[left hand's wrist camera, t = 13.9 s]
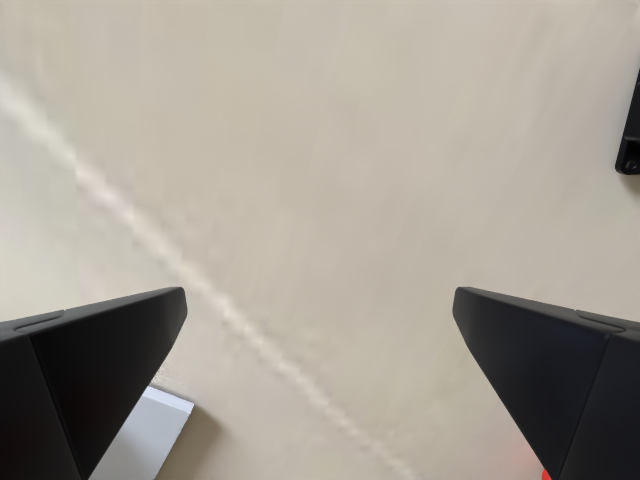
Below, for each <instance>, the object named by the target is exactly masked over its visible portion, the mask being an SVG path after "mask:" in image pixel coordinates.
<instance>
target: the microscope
mask: <svg viewBox="0 0 640 480" xmlns="http://www.w3.org/2000/svg"><path fill="white" fill-rule="evenodd" d="M193 406H194V404H193V403H191V402H188V401H186V400H183V399H181V398H178V397H176V396H173V395H170V394H168V393H165V392H163V391H160V390H158V389H155V388H152V387H150V386H148V387H147V388H146V390H145V391H144V393H143V394H142V396H141V398H140V399H139V401H138V402H137V404H136V405H135V407H134V409H133V410H132V412H131V413H130V415H129V416H128V418H127V420H126V421H125V423H124V424H123V426H122V427H121V429H120V431H119V432H118V434H117V435H116V437H115V438H114V440H113V442H112V443H111V445H110V446H109V448H108V449H107V451H106V453H105V454H104V456H103V457H102V459H101V460H100V462H99V464H98V465H97V467H96V468H95V470H94V471H93V473H92V475H91V476H90V478H89V479H88V480H154V479H155V477H156V475H157V473H158V472H159V470H160V468H161V466H162V464H163V462H164V461H165V459H166V457H167V455H168V453H169V451H170V450H171V448H172V446H173V444H174V442H175V440H176V439H177V437H178V435H179V433H180V431H181V430H182V428H183V426H184V424H185V422H186V420H187V419H188V417H189V415H190V413H191V411H192V408H193Z"/></svg>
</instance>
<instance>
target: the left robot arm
mask: <svg viewBox="0 0 640 480" xmlns="http://www.w3.org/2000/svg"><path fill="white" fill-rule="evenodd" d="M629 161H630V164H629V166H628V167H627V168H626V165H627V163H628V162H629ZM615 169H616V171H617V172H618V173H621V174H626V175H635V174H640V70H639V74H638V77H637V81H636V85H635V89H634V93H633V97H632V101H631V105H630V109H629V113H628V117H627V121H626V125H625V129H624V133H623V137H622V141H621V144H620V148H619V152H618V156H617V160H616V164H615ZM186 317H187V303H186V297H185V291H184V289H183V288H182V287H168V288H163V289H159V290H154V291H149V292H145V293H140V294H135V295H131V296H126V297H122V298H117V299H112V300H108V301H103V302H98V303H94V304H89V305H85V306H80V307H75V308H71V309H66V310H65V311H64V310H59V311H55V312H50V313H45V314H40V315H35V316H31V317H26V318H21V319H16V320H11V321H6V322H0V480H88V479H89V478H90V476H91V475H92V473H93V471H94V470H95V468H96V467H97V465H98V464H99V462H100V460H101V459H102V457H103V456H104V454H105V453H106V451H107V449H108V448H109V446H110V445H111V443H112V442H113V440H114V438H115V437H116V435H117V434H118V432H119V431H120V429H121V427H122V426H123V424H124V423H125V421H126V420H127V418H128V416H129V415H130V413H131V412H132V410H133V409H134V407H135V405H136V404H137V402H138V401H139V399H140V398H141V396H142V394H143V393H144V391H145V390H146V388H147V387H148V385H149V383H150V382H151V380H152V379H153V377H154V376H155V374H156V372H157V371H158V369H159V368H160V366H161V365H162V363H163V361H164V360H165V358H166V357H167V355H168V354H169V352H170V350H171V349H172V347H173V345H174V343H175V341H176V338H177V336H178V334H179V332H180V330H181V328H182V326H183V323H184V321H185V319H186ZM453 317H454V319H455V321H456V323H457V326H458V328H459V330H460V332H461V334H462V336H463V338H464V341H465V343H466V345H467V347H468V349H469V350H470V352H471V354H472V355H473V357H474V358H475V360H476V361H477V363H478V365H479V366H480V368H481V369H482V371H483V372H484V374H485V376H486V377H487V379H488V380H489V382H490V383H491V385H492V387H493V388H494V390H495V391H496V393H497V394H498V396H499V398H500V399H501V401H502V402H503V404H504V405H505V407H506V409H507V410H508V412H509V413H510V415H511V416H512V418H513V420H514V421H515V423H516V424H517V426H518V427H519V429H520V431H521V432H522V434H523V435H524V437H525V438H526V440H527V442H528V443H529V445H530V446H531V448H532V449H533V451H534V453H535V454H536V456H537V457H538V459H539V460H540V462H541V464H542V465H543V467H544V468H545V470H546V471H547V473H548V475H549V476H550V478H551V479H552V480H640V322H634V321H629V320H624V319H619V318H614V317H609V316H605V315H600V314H595V313H590V312H585V311H581V310H576V311H575V310H574V309H570V308H565V307H560V306H556V305H551V304H546V303H542V302H537V301H532V300H528V299H523V298H519V297H514V296H509V295H505V294H500V293H495V292H491V291H486V290H481V289H477V288H472V287H458V288H457V289H456V291H455V297H454V303H453Z"/></svg>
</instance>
